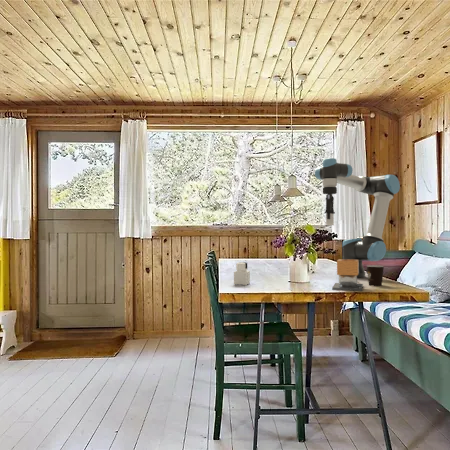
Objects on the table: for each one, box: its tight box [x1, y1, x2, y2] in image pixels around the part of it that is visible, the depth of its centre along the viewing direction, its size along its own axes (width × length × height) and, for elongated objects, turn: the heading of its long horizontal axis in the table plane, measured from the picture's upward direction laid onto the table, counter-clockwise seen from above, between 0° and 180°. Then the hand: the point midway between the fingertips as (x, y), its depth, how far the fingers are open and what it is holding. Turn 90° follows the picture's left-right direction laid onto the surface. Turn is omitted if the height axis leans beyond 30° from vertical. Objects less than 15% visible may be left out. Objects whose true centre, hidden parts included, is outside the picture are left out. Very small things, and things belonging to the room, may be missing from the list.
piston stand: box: [332, 275, 364, 292], centre depth 222 cm, size 18×14×12 cm
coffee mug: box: [365, 264, 385, 287], centre depth 232 cm, size 12×9×10 cm
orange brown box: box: [336, 258, 359, 276], centre depth 222 cm, size 10×10×7 cm
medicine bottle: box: [233, 261, 251, 286], centre depth 239 cm, size 7×7×12 cm
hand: (330, 225), depth 240 cm, fingers open, 13 cm apart
